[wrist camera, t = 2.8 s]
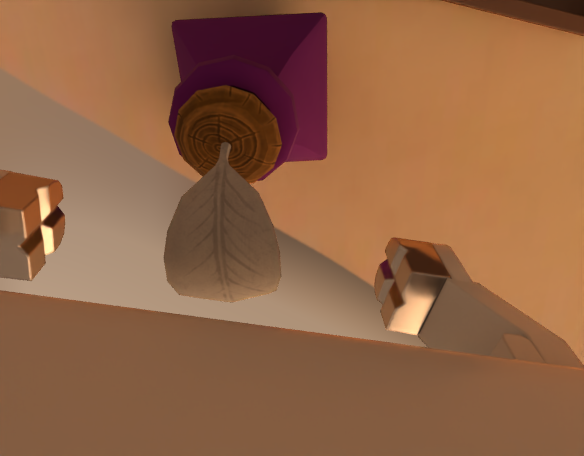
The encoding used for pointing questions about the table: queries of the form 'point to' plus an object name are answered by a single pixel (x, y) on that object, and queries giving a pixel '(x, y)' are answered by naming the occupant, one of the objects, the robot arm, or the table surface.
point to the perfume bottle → (241, 143)
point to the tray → (536, 12)
